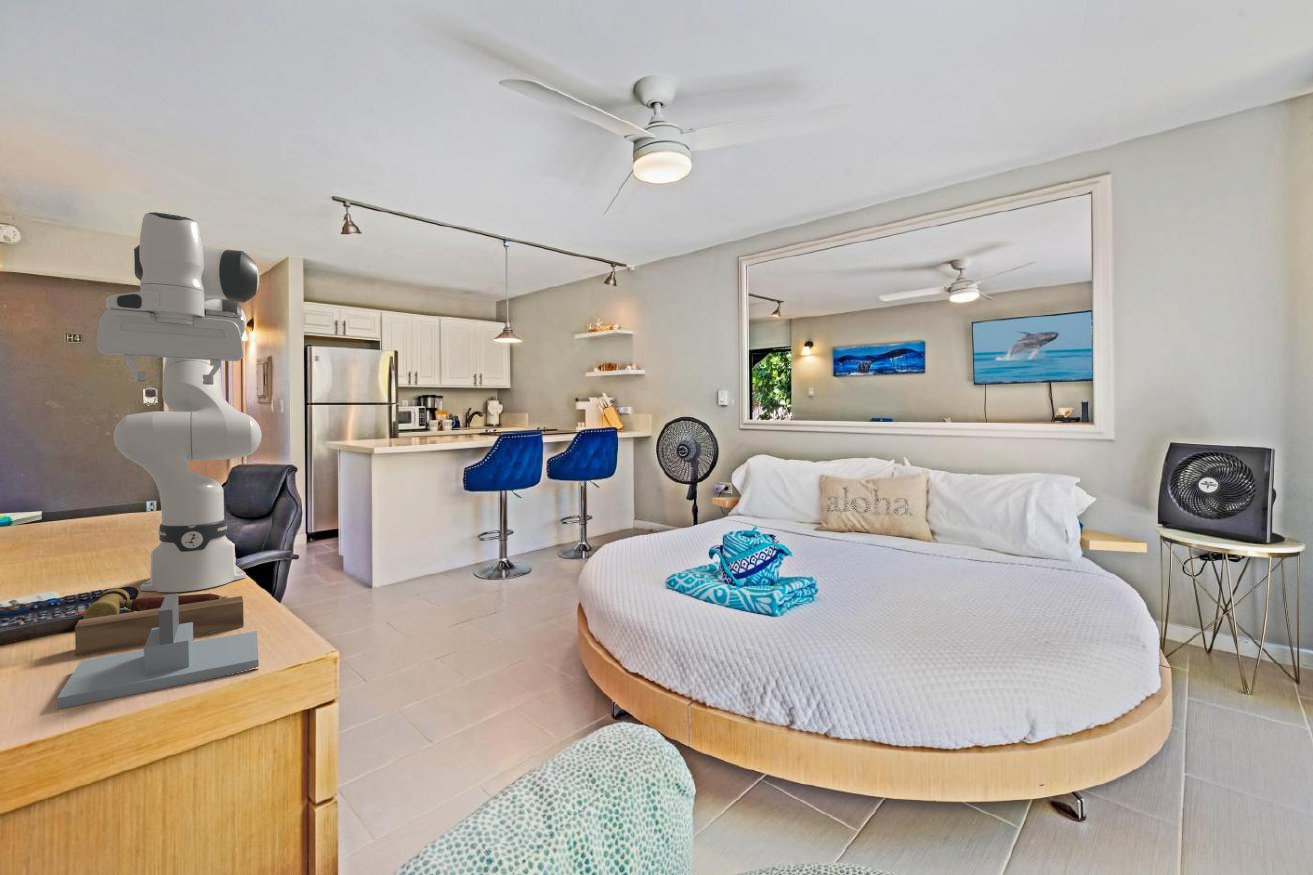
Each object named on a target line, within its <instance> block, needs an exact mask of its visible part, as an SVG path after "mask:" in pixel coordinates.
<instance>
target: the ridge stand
mask: <svg viewBox="0 0 1313 875" xmlns="http://www.w3.org/2000/svg"><path fill="white" fill-rule="evenodd" d="M178 596H179V592H176V593H170V594H166V595H165V596H164V597H165V598H164V601H163V603H162V605H161V608H160V610H159V627H158V628H152V630H151V632H150V635H149V637H148V639H147V642H146V644H144V646H143V650H137V651H130V652H125V653H119V654H111V655H106V656H101V657H96V658H95V657H94V658H88V659H83V660H82V659H81V660H80V662H79V663H78V665H77V666H76V668H75V669H74V671H73V672H72V674H71V676H70V677H69V679H68V680H67V681H66V683H65V685H64V686H63V688H62V690H61V691H60V693H59V694H58V696H57V697H56V709H57V710H61V709H65V708H71V707H75V706H79V705H86V704H92V703H97V702H101V701H105V700H111V699H116V698H121V697H126V696H131V695H135V694H137V695H138V694H140V693H145V692H150V691H156V690H162V689H166V688H167V689H168V688H170V687H171V688H172V687H176V686H181V685H185V684H190V683H191V684H192V683H196V681H197V682H201V680H202V681H206V680H211V679H214V678H216V677H217V678H221V676H222V677H225V675H227V676H229V675H228V674H232V673H237V672H241V671H245V670H249V669H252V668H256V667H258V666H260V664H259V647H258V646H259V645H258V644H259V643H258V631H257V630H255V631H254V630H253V631H250V632H244V633H237V634H231V635H227V636H220V637H219V636H218V637H214V638H208V639H201V640H196V641H194V636H193V622H191V623H184V624H179V605H178ZM237 674H238V673H237ZM232 675H233V674H232Z"/></svg>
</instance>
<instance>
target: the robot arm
mask: <svg viewBox="0 0 1313 875" xmlns="http://www.w3.org/2000/svg"><path fill="white" fill-rule="evenodd" d="M140 228H141V229H140V234H139V235H140V236H139V244H138V245H137V246H136V247H135V248H133V253H134V258H133V259H134V275H135V277H136V278H137V279H138V281H139V283H140V284H139V288H140V289H139V291H134V292H125V293H118V294H117V293H116V294H111V295H109V296H107V297H106V300H105V307H106V309H107V310H106V311H104V313H102V315H101V317H100V318H99V323H98V327H97V334H96V350H98V351H99V352H100V353H101V354H103V355H116V356H117V355H118V356H124V357H125V358H124V359H125V360H124V361H125V363H126V365H127V366H128V367H129V368H130V370H131V371H132V372H133V375H134V378H133V380H134V383H146V381H147V380H146V376H147V375H146V374H147V372H145V371H140V370H139V369H138V368H137V366H136V365H135V364H134V363H136V362H137V357H148V358H149V357H151V358H152V357H153V358H166V359H165V363H164V367H163V376H162V377H163V378H162V392H161V393H162V394H161V395H162V399H163V402H164V403H165V405H166V406H167V407H168V408H169V409H170V410H171V411H165V410H164V411H163V410H162V411H160V410H159V411H157V410H155V411H154V410H153V411H146V412H140V413H133V414H127V415H126V416H124V417H123V418H121V420H120V421H119V422H117V424H116V426H115V428H114V430H113V442H114V445H115V447H116V449H117V451H118V452H119V454H121V455H122V456H124V458H126V459H128V460H129V461H132V462H134V463H135V464H137V465H138V466H140V467H141V468H142V469H144V471H146V472H147V473H148V474H149V476H150V477H151V478H152V479H153V481H154V483H155V484H156V488H157V491H158V494H159V499H160V500H159V501H160V508H161V509H160V510H161V511H160V512H161V523H160V524H159V529H158V536H159V537H158V538H159V541H160V543H159V544H158V545H157V546H156V547H155V548H153V550H152V551H151V552H150V578H149V579H148V580H146V581H144V582H143V583H142V584H141V585H140V586H139V591H143V592H145V591H146V592H149V591H150V592H151V591H153V592H158V593H183V592H192V591H200V590H204V589H205V590H206V589H211V588H215V587H218V586H222V585H225V584H229V583H230V582H233V581H237V580H241V579H244V578H246V577H247V576H246V575H247V574H246V572H245V571H244V570H243V569H241V568H240V567H239V566H238V565H236V563H237V557H236V551H235V550H236V549H235V546H236V545H235V543H233V542H232V540H230V539H229V538H228V537H227V536H226V535H227V534H228V523H227V519H226V518H225V497H224V496H225V495H224V494H225V492H224V488H223V486H222V485H221V483H219V482H218V481H217V480H216V479H214V478H211V477H209V476H206V475H203V474H199V473H197V472H194V471H193V470H191V468H190V467H189V465H188V464H189V462H192V461H215V460H217V461H219V460H221V461H222V460H233V459H239V458H243V457H247V456H251V455H252V454H254V453H255V452H256V451H257V450H258V449H259V447H260V445H261V441H262V437H263V436H262V430H261V426H260V425H259V423H258V422H257V420H256V419H255V418H253V416H252V415H250V414H246V413H244V412H242V411H240V410H238V409H236V408H235V407H234V406H232V405H231V404H230V403H229V402H228V401H227V400H226V399H225V397H224V393H223V386H222V385H223V383H222V382H223V381H222V371H221V365H222V364H221V362H222V361H223V362H224V361H225V362H239V361H240V360H242V359H243V358H244V356H245V352H244V343H243V340H242V339H243V338H242V337H243V335H244V333H245V331H246V328H247V316H246V314H245V311H244V310H243V308H242V306H241V305H240V304H239V303H242V304H245V303H246V302H248V301H250V300H251V299H253V298H254V297H255V296H256V294H257V292H258V289H259V287H260V274H259V273H260V272H259V269H258V265H257V263H256V262H255V259H253V258H252V257H251V256H250V255H248V254H247V253H246V252H244V251H243V250H233V249H220V248H213V247H206V246H203V242H202V235H201V230H200V226H199V223H198V222H197V221H195V220H193V219H192V218H191V217H190V218H189V217H187V216H181V215H175V214H171V213H166V212H165V213H163V212H157V211H156V212H148V213H144V215H143V218H142V221H141V227H140ZM243 574H244V575H245V576H244V575H243Z"/></svg>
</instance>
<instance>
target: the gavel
mask: <svg viewBox="0 0 1313 875" xmlns="http://www.w3.org/2000/svg"><path fill="white" fill-rule="evenodd" d="M130 598H131V596H130V594H129V592H128V591H126V590H125V589H121V588H111V589H110V588H109V589H108V590H106V591H104V592H103V593H102V594H101V595H100V596H99V597H98V598H97V599H96V601H94V602H93V603H92V604H90V605H89V607H87V608H86V610H85V611H84V613H83V619H89V618H96V617H103V616H109V615H116V614H120V613H121V612H120V608H124V607H126V608H128V609H131V610H132V611H131V612H137V611H143V610H150V609H157V608H161V605H162V603H163V601H164V598H165V596H152V597H151V596H150V597H141V598H135V599H130ZM225 598H230V597H229V596H228V595H226V596H223V595H221V594H214V593H196V594H195V593H194V594H182V595H178V605H184V604H191V603H197V602H204V601H211V600H218V599H225Z"/></svg>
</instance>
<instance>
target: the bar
mask: <svg viewBox="0 0 1313 875" xmlns="http://www.w3.org/2000/svg"><path fill="white" fill-rule="evenodd" d="M159 610H160V608H157V609H150V610H143V611H129V612H122V613H119V614H116V615H109V616H103V617H96V618H89V619H84V618H83V619H79V620H78V621H77V623H76V624H75V627H74V632H75V633H74V640H75V642H74V645H75V657H79V656H84V655H85V656H86V655H90V654H96V653H102V652H109V651H114V650H119V649H125V648H130V647H137V646H142V645H145V644H146V642H147V639H148V637H149V635H150V632H151V630H152V628H158V627H159ZM244 618H245V617H244V599H243V595H239V596H233V597H229V598H225V599H218V600H211V601H204V602H197V603H191V604H184V605H179V624H184V623H191V622H193V637H195V636H200V635H206V634H212V633H217V632H223V631H228V630H229V631H230V630H234V629H240V628H239V627H241V628H243V627H242V626H244V624H245V623H244Z"/></svg>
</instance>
